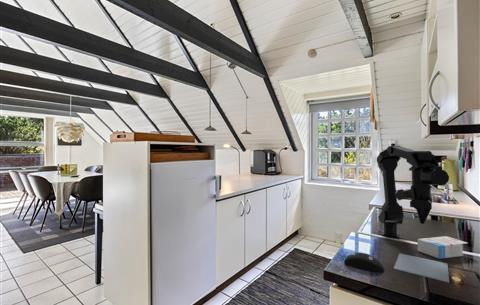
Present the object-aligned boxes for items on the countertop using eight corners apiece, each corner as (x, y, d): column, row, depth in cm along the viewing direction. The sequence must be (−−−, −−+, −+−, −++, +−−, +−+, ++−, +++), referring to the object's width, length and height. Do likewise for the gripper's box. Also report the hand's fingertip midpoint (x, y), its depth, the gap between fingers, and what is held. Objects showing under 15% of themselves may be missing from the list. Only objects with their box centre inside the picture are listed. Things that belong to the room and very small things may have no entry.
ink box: (439, 259, 86) (469, 255, 90) (438, 246, 87) (469, 242, 90) (417, 250, 95) (446, 247, 98) (416, 238, 95) (445, 235, 98)
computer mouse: (381, 276, 75) (381, 263, 75) (342, 265, 82) (342, 254, 83) (385, 268, 81) (385, 256, 81) (348, 258, 88) (348, 247, 88)
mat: (399, 254, 91) (399, 253, 91) (447, 264, 83) (447, 263, 83) (393, 268, 79) (393, 268, 79) (449, 282, 70) (449, 281, 70)
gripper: (398, 180, 103) (399, 216, 103) (393, 183, 89) (394, 225, 89) (431, 181, 96) (432, 220, 96) (431, 185, 82) (432, 230, 81)
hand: (422, 223), depth 91 cm, fingers closed
